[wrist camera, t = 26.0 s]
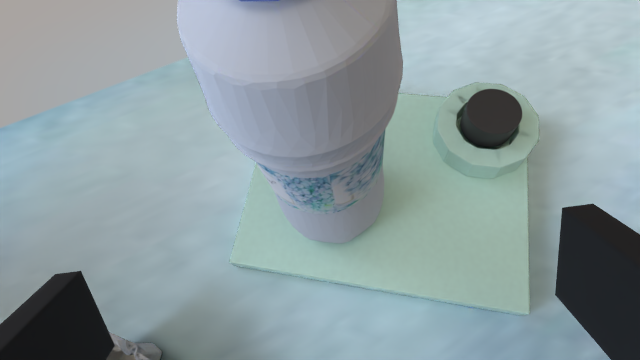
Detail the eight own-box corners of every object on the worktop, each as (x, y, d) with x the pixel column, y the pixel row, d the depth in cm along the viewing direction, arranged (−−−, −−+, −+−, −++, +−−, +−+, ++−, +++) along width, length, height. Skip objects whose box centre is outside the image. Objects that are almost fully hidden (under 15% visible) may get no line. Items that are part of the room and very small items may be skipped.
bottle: (275, 171, 27) (74, -202, 8) (369, 146, 27) (370, -284, 8) (295, 265, 24) (61, 17, 6) (399, 238, 24) (498, -103, 6)
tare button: (458, 144, 24) (464, 130, 23) (461, 102, 26) (467, 86, 24) (512, 150, 24) (522, 136, 22) (512, 106, 25) (522, 90, 23)
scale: (234, 265, 26) (218, 256, 23) (280, 91, 31) (271, 66, 28) (523, 316, 23) (545, 312, 20) (521, 112, 28) (538, 86, 25)
